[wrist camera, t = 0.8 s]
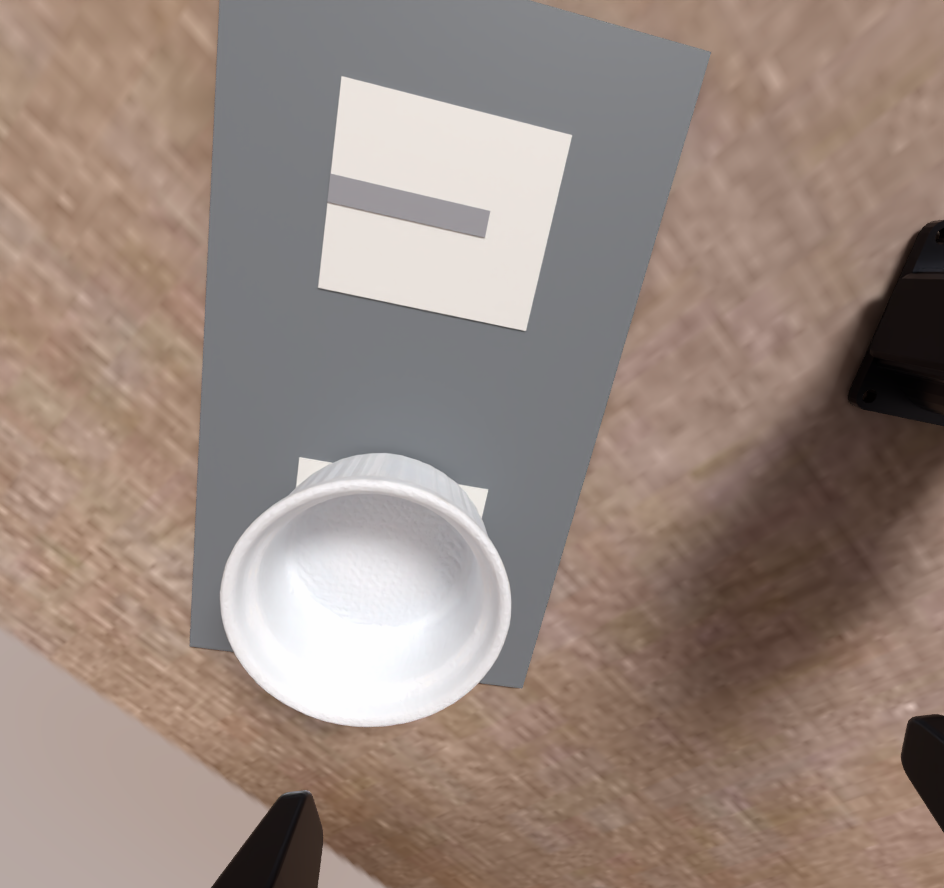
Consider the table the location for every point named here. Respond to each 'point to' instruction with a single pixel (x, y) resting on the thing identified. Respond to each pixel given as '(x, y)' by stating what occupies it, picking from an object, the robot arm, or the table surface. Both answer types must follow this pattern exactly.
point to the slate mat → (426, 259)
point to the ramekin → (367, 594)
